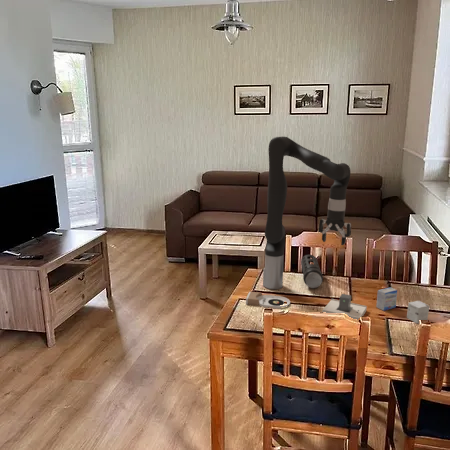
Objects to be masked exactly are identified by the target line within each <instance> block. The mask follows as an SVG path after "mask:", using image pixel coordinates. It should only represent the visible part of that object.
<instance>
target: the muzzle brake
mask: <svg viewBox="0 0 450 450" xmlns="http://www.w3.org/2000/svg"><path fill="white" fill-rule="evenodd" d="M300 261H301V262H300V263H301V264H300V265H301V270H302V276H303V282H304V285H306V286H307V287H309V288H311V289H316V288H319V287H320V286H321V285H322V284H323V281H324V276H323V274H322V272H321V269H320V265H319V262H318V259H317V257H316V256H314V255H313V254H305V255H304V256H303V257H302V258H301V259H300Z"/></svg>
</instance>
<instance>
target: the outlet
mask: <svg viewBox="0 0 450 450" xmlns="http://www.w3.org/2000/svg"><path fill="white" fill-rule="evenodd" d="M339 301H340V299H339V300H338V299H334V298H331V299H330V301H329V302H327V304H326V305H325V307H324V308H323V309H322V310H321V313H322V312H326V313H345V314H347V315H348V316H349V317H351V318H353V319H357V320H358V319H359V318H360V317H362V316H363V317H364V315H365V314H366V312H367V307H368V306H367V305H363V304H359V303H353V302H351V305H350V313H349V312H344V311H339ZM363 317H362V318H363Z"/></svg>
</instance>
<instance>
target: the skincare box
mask: <svg viewBox="0 0 450 450" xmlns="http://www.w3.org/2000/svg"><path fill="white" fill-rule="evenodd" d="M407 306H408V307H407V311H406V312H407V313H406V318H407V320H410V321H412V322H414V324H415V323H416V324H420V323H419V320H427V321H428V320H429V319H428V318H429V310H430V305H428V304H426V303H425V302H422V301H421V300H415V301H410V302H408V305H407Z"/></svg>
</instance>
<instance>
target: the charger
mask: <svg viewBox="0 0 450 450" xmlns="http://www.w3.org/2000/svg"><path fill="white" fill-rule="evenodd" d="M339 300H340V301H339V311H344V312H349V313H350V305H351V303H352V295H350V294H345V293H341V295H340V296H339Z"/></svg>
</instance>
